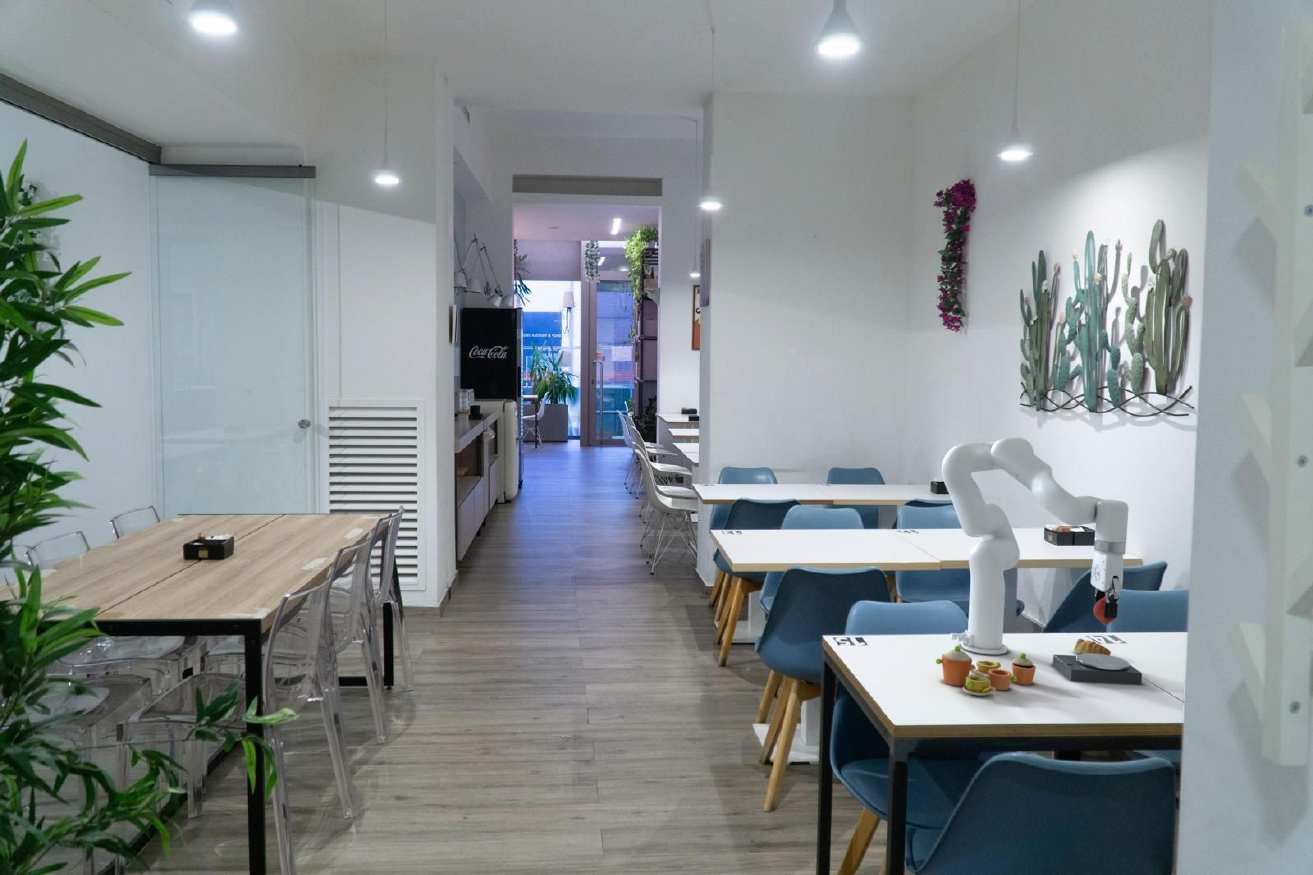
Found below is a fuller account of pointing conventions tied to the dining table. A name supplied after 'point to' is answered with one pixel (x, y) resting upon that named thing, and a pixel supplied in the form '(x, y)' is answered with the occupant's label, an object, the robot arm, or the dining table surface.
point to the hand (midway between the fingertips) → (1105, 613)
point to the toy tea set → (983, 672)
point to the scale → (1094, 672)
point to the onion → (1101, 612)
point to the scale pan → (1102, 661)
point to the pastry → (1090, 648)
